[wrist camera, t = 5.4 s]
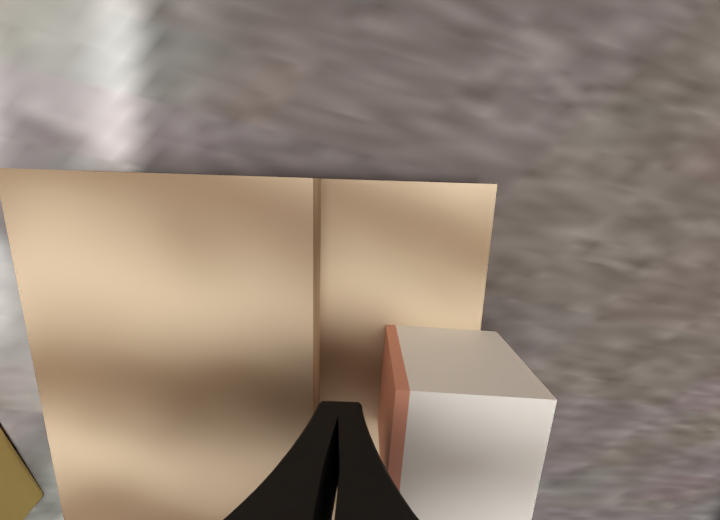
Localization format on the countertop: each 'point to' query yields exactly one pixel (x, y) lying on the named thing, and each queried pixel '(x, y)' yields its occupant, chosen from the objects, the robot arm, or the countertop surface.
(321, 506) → the robot arm
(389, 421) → the white cube
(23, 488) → the cheese
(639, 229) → the countertop surface
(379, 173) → the countertop surface
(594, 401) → the countertop surface
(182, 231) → the step
